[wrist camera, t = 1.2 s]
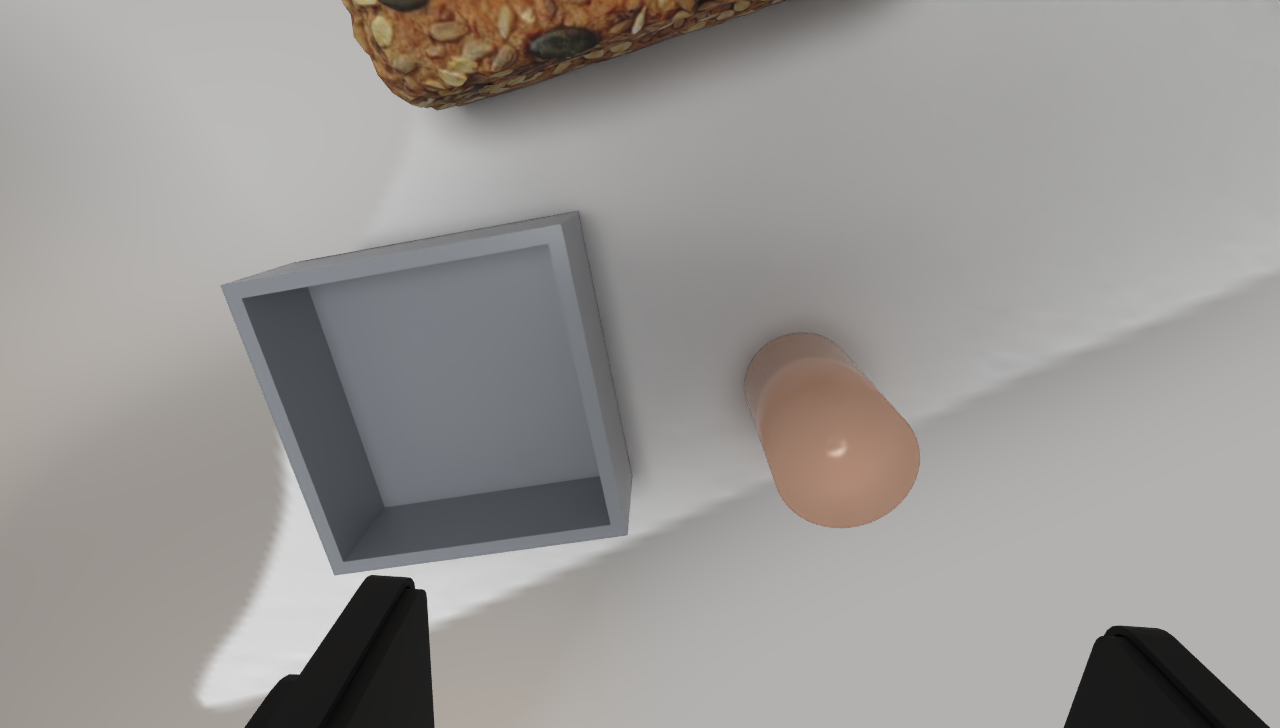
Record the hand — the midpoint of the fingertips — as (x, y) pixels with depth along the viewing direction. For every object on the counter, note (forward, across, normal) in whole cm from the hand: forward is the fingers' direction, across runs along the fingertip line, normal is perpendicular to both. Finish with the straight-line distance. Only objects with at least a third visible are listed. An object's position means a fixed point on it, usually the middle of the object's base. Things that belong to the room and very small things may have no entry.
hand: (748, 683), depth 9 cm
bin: (+21, +10, +4) cm, 23 cm away
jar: (+21, -6, +3) cm, 22 cm away
